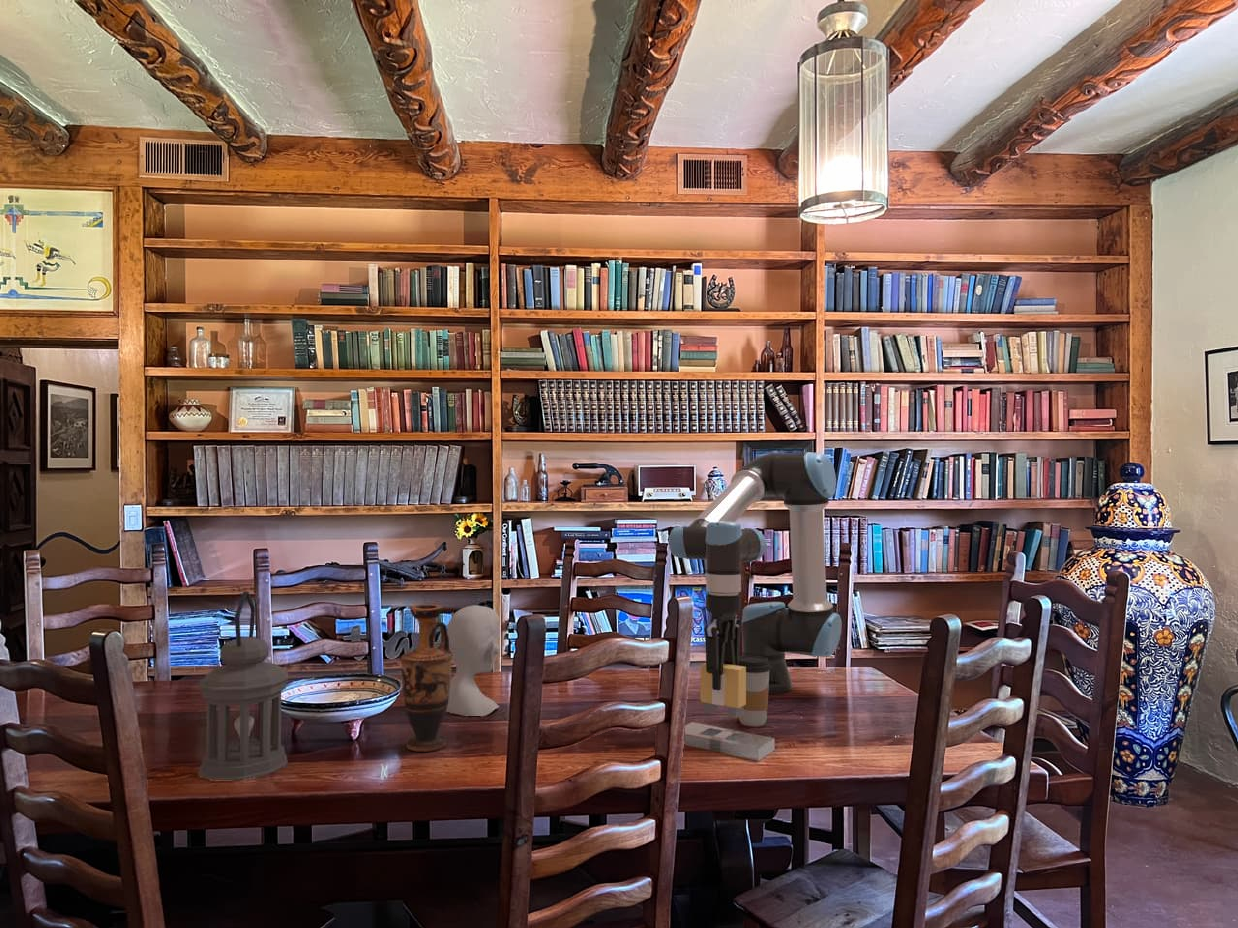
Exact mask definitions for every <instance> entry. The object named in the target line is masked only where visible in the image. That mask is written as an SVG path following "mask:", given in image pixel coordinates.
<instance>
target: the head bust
mask: <svg viewBox="0 0 1238 928" xmlns="http://www.w3.org/2000/svg"><path fill="white" fill-rule="evenodd" d="M446 627H447V632H448V637H449V648H450V651H451V653H452V662H453V663H454V664H455V667H456V671H455V674H454V675H453V677H452V676H451V681H450V693H449V700H448V705H447V709H446V713H447V712H449V713H448V714H454V715H459V716H465V717H468V716H481V717H485V716H488V715H490V714H491V713H492V712H494V711H495V710H496V709H499V708H500V706H499V705H498V704H497V702H496V701H495V700H493V699H492V698H489V697H488V696H485V695H484V694H483V693H482V692H481V690H480V689H479V687H478V686H477V684H476V682H475V678H474V677H475V675H476V674H478V673H490V672H492V670H493V669H494V663H495V661H496V658H497V655H498V654H499V653H500V649H501V648H500V645H499V644H498V641H499V638H500V631H499V630H500V617H499V615H498V614H497V613H496V611H495V610H494V609H493V608H491V607H488V606H482V605H474V604H473V605H470V606H466V607H463V608H460V609H459V610H457V611H456V612H455V613H454V614H452V616H451V618H450V620H449V621H448V624H447V626H446Z"/></svg>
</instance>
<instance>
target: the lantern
mask: <svg viewBox="0 0 1238 928" xmlns="http://www.w3.org/2000/svg"><path fill="white" fill-rule="evenodd" d="M245 600H247V603H248V605H249V608H250V618H249V619H250V620H249V621H250V622H249V631H248V634H249V635H248V637H241V622H240V619H241V618H240V617H241V613H242V610H243V606H244V603H245ZM255 615H256V606H255V603H254V602H253V600H252V596H251V595H250V593H249V591H248V590H246V591H245V590H244V591H243V592H242V593H241V596H240V599H239V602H238V606H237V608H236V611H235V616H234V623H235V624H234V625H235V639H232V640H229V641H226V642H225V643H224V644H223V645H222V647H221V648H220V660H221V661H222V663H223V664H225V665H222V666H220V667H216V668H214V669H212V670H210V671H209V672H208V673H206V675H205V677H204V678H201V679H199V684H198V688H199V689H201V698H203V699H206V715H205V716H206V717H205V718H206V721H205V722H206V724H205V725H206V729H205V730H206V731H205V732H206V734H205V736H206V738H205V739H206V740H205V744H206V745H205V749H206V750H205V755H203V756H202V760H201V765H200V766H199V769H198V776H202V777H205V778H209V779H212V780H244V779H249V778H253V777H257V776H261V775H265V774H269V773H272V772H274V771H276V770H278V769H279V770H281V769H282V768H281V767H283V768H284V767H286V766H287V765H289V764H288V758H287V757H288V755H287V754H286V752H285V746H284V745H283V744H282V691H283V690H285V689H287V681H288V680H289V679H290V677H289V673H288V671H287V670H284V669H283V668H282V667H281V666H280V665H278V664H276V663H272V662H266V661H265V660H266V659H267V658H268V656H269V653H270V647H269V646H270V645H269V643H268V642H266V640H265V639H263V638H258V637H254V630H255V617H256V616H255ZM253 704H258V738H253V739H250V734H251V731H252V730H253V727H254V725H255V719H254V717H253V716H252V715H251V714H250V705H253ZM231 706H239V709H240V710H239V716H238V717H237V718H236V719H235V721H234V728H235V731H236V732H237V734H238V738H239V740H236V741H230V709H231V708H230V707H231ZM280 768H281V769H280ZM279 770H278V771H279ZM276 772H277V771H276ZM274 773H275V772H274ZM269 775H270V774H269ZM198 776H197V777H198ZM265 776H266V775H265ZM261 777H262V776H261ZM257 778H258V777H257ZM253 779H254V778H253ZM249 780H250V779H249Z"/></svg>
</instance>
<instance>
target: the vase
mask: <svg viewBox="0 0 1238 928" xmlns="http://www.w3.org/2000/svg"><path fill="white" fill-rule="evenodd" d="M443 609H444V606H443V605H441V604H430V603H429V604H428V603H426V604H417V605H412V606H410V607H409V610H410V612H411V613H410V614H411V615H412V617H413V619H415V620H417V622H418V623H417V624H418V645H417V648H415V649H414V650H413V651H410V652H407V653H404V654H402V655H400V664H401V674H402V692H403V701H404V702H403V703H404V706H405V711H406V716H407V719H408V722H409V724H410V726H411V729H412V731H413V734H414V736H413V737H412V738H410V739H408V740H407V742H406V748H407V750H409V751H413V752H416V753H420V752H421V753H428V752H429V753H430V752H435V751H438V750H439V751H440V750H441V749H443V748H445V747H446V746H447V744H448V743H447V739H446V737H445V736H443V735H439V731H440V728H441V725H442V722H443V721H444V718H445V716H446V714H447V712H446V709H447V705H448V700H449V693H450V681H451V678H452V665H453V663H452V662H453V660H452V653H451V651H450V648H449V637H448V632H447V627H448V626H447V625H446V624H445V623H444V622H442V621H440V620H438V619H437V618H438V617H440V616H441V613H442V612H443ZM438 629H440V637H441V638H440V639H441V641H440V645H439V646H438V647H437V644H436V642H435V641H436V634H437V631H438Z"/></svg>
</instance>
